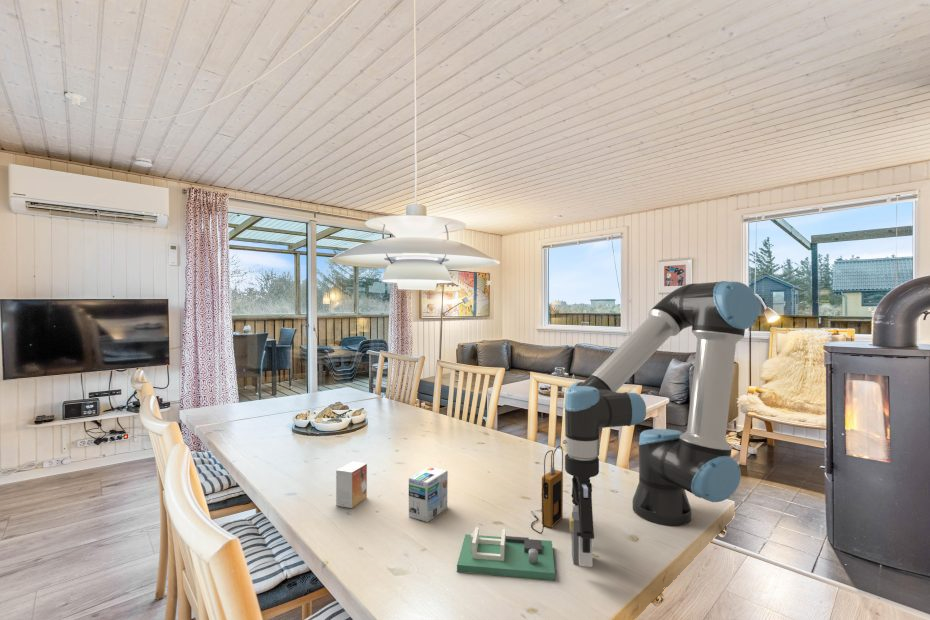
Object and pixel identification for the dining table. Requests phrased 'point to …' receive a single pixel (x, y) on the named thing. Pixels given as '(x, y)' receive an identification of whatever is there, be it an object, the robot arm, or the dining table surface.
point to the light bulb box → (428, 493)
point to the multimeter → (551, 496)
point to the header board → (506, 556)
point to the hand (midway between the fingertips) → (581, 548)
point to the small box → (351, 484)
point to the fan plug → (575, 536)
